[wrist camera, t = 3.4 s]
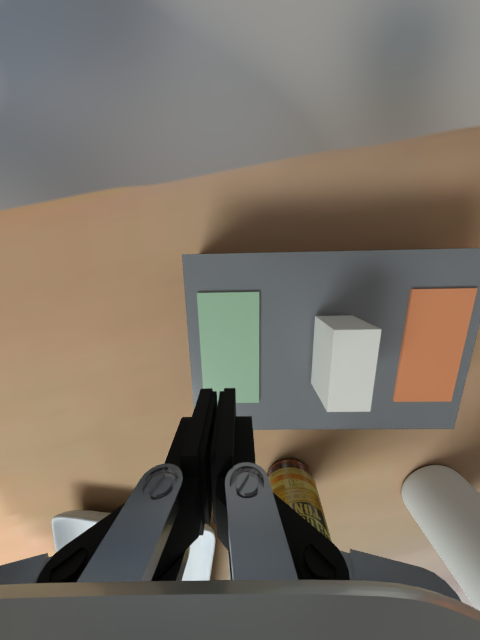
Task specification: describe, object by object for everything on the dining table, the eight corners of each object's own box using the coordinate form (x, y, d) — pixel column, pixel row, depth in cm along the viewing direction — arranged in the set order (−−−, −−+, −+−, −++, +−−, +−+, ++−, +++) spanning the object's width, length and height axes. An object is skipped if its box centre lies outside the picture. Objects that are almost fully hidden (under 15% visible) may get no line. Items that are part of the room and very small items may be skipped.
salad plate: (208, 604, 37) (205, 638, 34) (78, 592, 37) (62, 624, 34) (219, 505, 32) (216, 533, 29) (68, 490, 32) (48, 516, 29)
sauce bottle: (314, 456, 29) (448, 825, 10) (307, 494, 31) (412, 877, 12) (263, 453, 29) (300, 815, 10) (259, 491, 31) (284, 868, 12)
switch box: (433, 251, 23) (500, 247, 17) (408, 392, 27) (455, 430, 21) (197, 256, 24) (181, 254, 18) (205, 394, 27) (195, 431, 21)
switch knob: (352, 315, 18) (381, 329, 14) (345, 382, 20) (370, 411, 16) (315, 315, 18) (333, 329, 15) (310, 382, 20) (327, 411, 16)
